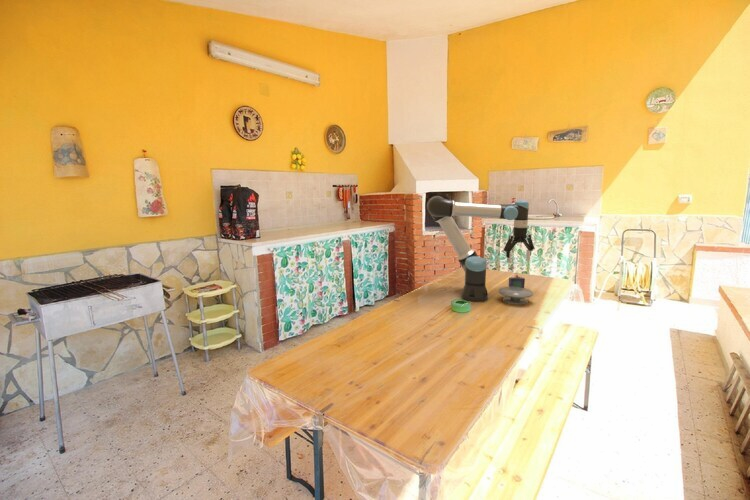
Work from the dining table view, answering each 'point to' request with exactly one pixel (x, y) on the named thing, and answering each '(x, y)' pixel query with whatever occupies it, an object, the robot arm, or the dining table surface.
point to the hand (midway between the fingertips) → (518, 261)
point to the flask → (516, 281)
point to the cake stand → (515, 295)
